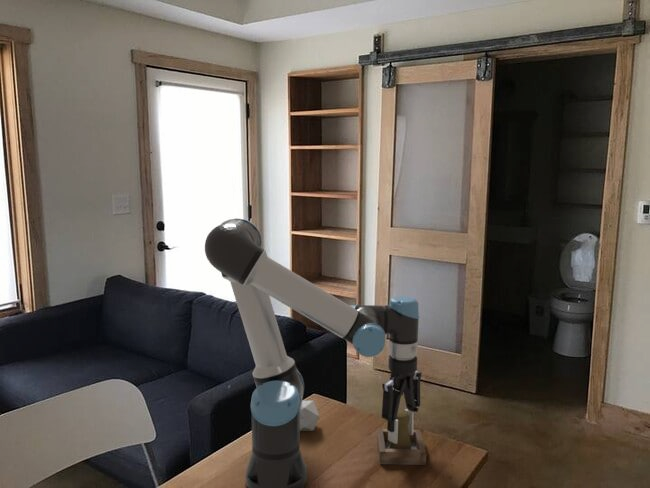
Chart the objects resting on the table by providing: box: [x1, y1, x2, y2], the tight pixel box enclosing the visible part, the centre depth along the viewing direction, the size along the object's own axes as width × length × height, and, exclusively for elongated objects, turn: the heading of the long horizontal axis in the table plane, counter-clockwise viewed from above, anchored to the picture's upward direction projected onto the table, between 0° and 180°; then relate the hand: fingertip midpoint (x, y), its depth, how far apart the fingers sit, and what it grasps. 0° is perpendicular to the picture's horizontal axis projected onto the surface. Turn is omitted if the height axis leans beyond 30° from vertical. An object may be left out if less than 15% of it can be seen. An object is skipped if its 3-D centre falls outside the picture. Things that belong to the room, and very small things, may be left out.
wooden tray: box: [376, 428, 427, 466], centre depth 146 cm, size 12×12×4 cm
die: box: [300, 400, 320, 432], centre depth 158 cm, size 8×9×10 cm
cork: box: [389, 409, 411, 449], centre depth 145 cm, size 6×6×11 cm
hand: (400, 437), depth 145 cm, fingers open, 6 cm apart
